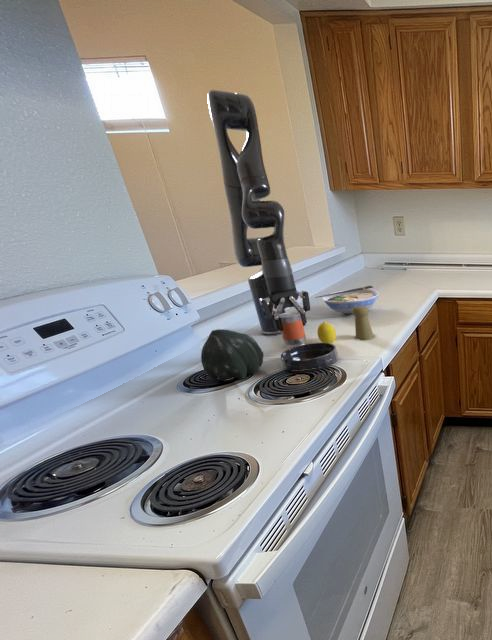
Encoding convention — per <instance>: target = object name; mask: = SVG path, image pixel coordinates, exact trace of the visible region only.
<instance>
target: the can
mask: <svg viewBox="0 0 492 640" xmlns="http://www.w3.org/2000/svg"><path fill="white" fill-rule="evenodd" d="M278 319H280V322H281V326H282V331H281V333H280V334H281V336H282V340H283V343H284V345H285V346H291V347H292V346H299V345H303V344H305V343H306V342H307V336H306V331H305V326H303V323H302V319H301V315H300V313H299V312H298V311H288V312H286V313H283V314H280V315H279V318H278Z"/></svg>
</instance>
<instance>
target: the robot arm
mask: <svg viewBox="0 0 492 640" xmlns="http://www.w3.org/2000/svg"><path fill="white" fill-rule="evenodd" d="M207 104H208V109H209V110H208V111H209V115H210V118H211V123H212V127H213V131H214V135H215V136H214V137H215V140H216V144H217V148H218V153H219V160H220V166H221V167H220V168H221V173H222V181H223V186H224V191H225V197H226V201H227V207H228V211H229V217H230V222H231V223H230V224H231V233H232V234H231V235H232V245H233V252H234V256H235V259H236V261H237V263H238V264H239V266H241V267H242V268H252V267H259V266H261V268H260V270H258V272H256V273H255V274H253V275H252V276H250V277H249V278H248V279H247V281H248V282H247V283H248V286H249V290H250V293H251V296H252V300H253V304H254V308H255V311H256V314H257V318H258V323H259V326H260V329H261V334H263V335H267V336H271V335H272V336H273V335H279V334H282V333H281V331H282V326H281V322H280V319H278V318H279V315H280V314H283V313H287V312H286V309H288V308H294V309H295V310H296V312H299V313H300V315H301V319H302V323H303V327H305V326H306V325H307V323H308V320H307V315H306V313H307V312H309V311H311V303H310V296H309V295H310V294H309V292H308V291H306V290H301V291H298V290H297V286H296V283H295V278H294V274H293V268H292V265H291V263H290V259H289V256H288V253H287V248H286V244H285V219H286V217H285V215H286V214H285V210H284V207H283V206H282V205H281V203H279V202H278V201H276V200H264V199H265V198H267V197H269V196H270V194H271V191H272V190H271V186H270V182H269V178H268V175H267V171H266V169H265V163H264V157H263V151H262V149H263V148H262V142H261V135H260V129H259V124H258V118H257V113H256V109H255V104H254V102H253V100H252V99H251V98H250V96H249V95H248V94H245V93H239V92H233V91H225V90H219V89H210V90H208V93H207ZM228 130H232V131H240V132H241V131H243V132H246V140H245V142H244V145H243V147H242V149H241V151H240V153H239V151H238V150H237V149H236V147H235V145H234V144H233V142H232V141H231V138H230V136H229V134H228ZM249 228H250V229H253V230H254V229H255V230H256V229H257V230H258V229H270V228H273V232H272V233H271V234H269V235H266V236H258V237H250V238H249V237H248V229H249ZM299 298H300V299H301V300H302V301H301V302H302V306H301V304H300V303H299V302H298V299H299Z"/></svg>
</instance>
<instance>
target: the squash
mask: <svg viewBox="0 0 492 640" xmlns="http://www.w3.org/2000/svg"><path fill="white" fill-rule="evenodd" d="M200 353H201V354H200V361H201V365H202V368H203V371H204V373H206V375H207V376H208V377H209V378H210V379H211V380H214V379H217V378H219V380H218V381H222V380H226V379H230V378H232V377H234V378H233V379H230V380H226V381H225V382H232V381H233V380H235V379H236V380H238V379H237V378H241V379H240V380H244V379H246V378H247V376H248V377H249V376H250V377H251V376H254V375H256V374H257V373H258V371H259V368H260V367H262V365H263V364H264V352H263V350H262V348H261V346H260V345H259V344H258V342H257V341H256V340H255V338H253V337H252V336H251V335H249V334H247V333H242V332H238V331H233V330H229V329H223V328H222V329H221V328H220V329H219V328H217V329H213V330H211V331H210V333H209V335H208V337H207V339H206V341H205V342H204V344H203V346H202V349H201V352H200Z"/></svg>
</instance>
